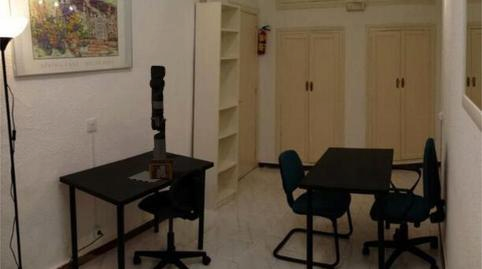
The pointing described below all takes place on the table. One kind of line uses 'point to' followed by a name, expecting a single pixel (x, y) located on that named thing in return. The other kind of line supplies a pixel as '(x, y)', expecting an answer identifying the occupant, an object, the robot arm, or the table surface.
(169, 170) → the supplement box
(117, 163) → the table surface
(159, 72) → the robot arm
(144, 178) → the mat
